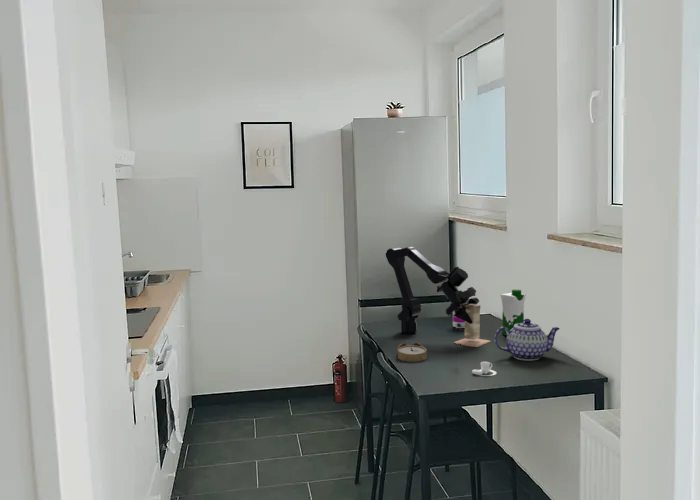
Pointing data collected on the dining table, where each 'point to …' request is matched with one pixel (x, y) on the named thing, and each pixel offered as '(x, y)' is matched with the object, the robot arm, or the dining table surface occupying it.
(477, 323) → the ash post
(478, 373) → the teacup and saucer
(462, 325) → the supplement can
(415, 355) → the alarm clock
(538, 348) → the teapot
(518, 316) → the milk carton
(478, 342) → the terracotta tile
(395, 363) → the dining table surface
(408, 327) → the robot arm
